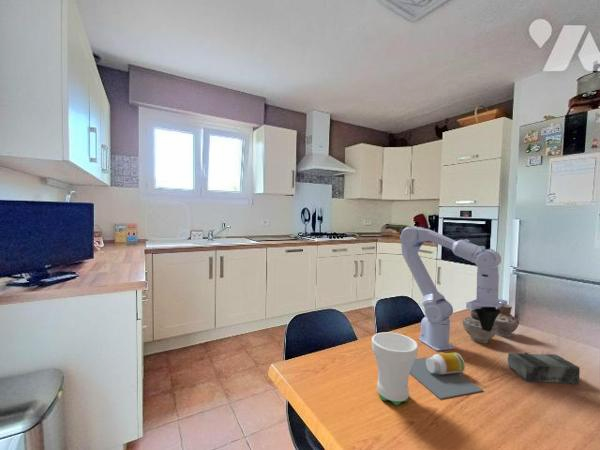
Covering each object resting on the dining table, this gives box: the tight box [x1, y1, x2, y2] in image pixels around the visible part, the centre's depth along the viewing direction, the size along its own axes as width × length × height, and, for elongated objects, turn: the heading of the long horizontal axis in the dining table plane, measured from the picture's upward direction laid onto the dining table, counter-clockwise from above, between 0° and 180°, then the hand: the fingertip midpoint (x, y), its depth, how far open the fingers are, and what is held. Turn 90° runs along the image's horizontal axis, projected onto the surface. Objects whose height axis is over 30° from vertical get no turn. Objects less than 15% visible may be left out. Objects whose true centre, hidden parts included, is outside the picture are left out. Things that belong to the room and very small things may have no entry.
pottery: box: [462, 303, 520, 344], centre depth 107 cm, size 11×25×12 cm, turn 114°
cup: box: [371, 331, 419, 406], centre depth 70 cm, size 11×11×14 cm
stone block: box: [507, 352, 580, 385], centre depth 82 cm, size 9×14×5 cm, turn 86°
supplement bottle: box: [426, 351, 466, 375], centre depth 81 cm, size 5×5×10 cm
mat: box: [409, 356, 484, 400], centre depth 80 cm, size 18×14×1 cm
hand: (486, 330), depth 87 cm, fingers closed
